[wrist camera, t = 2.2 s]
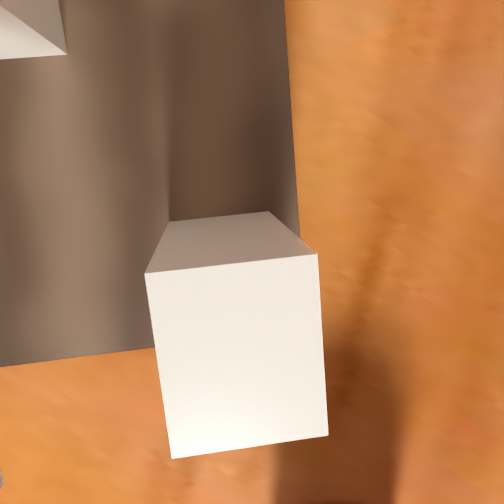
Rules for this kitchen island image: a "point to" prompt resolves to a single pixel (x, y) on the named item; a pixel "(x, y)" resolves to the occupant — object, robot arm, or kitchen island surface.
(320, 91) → the kitchen island surface
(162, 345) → the tall carton
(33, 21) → the faced carton
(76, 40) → the shelf board
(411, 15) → the kitchen island surface
